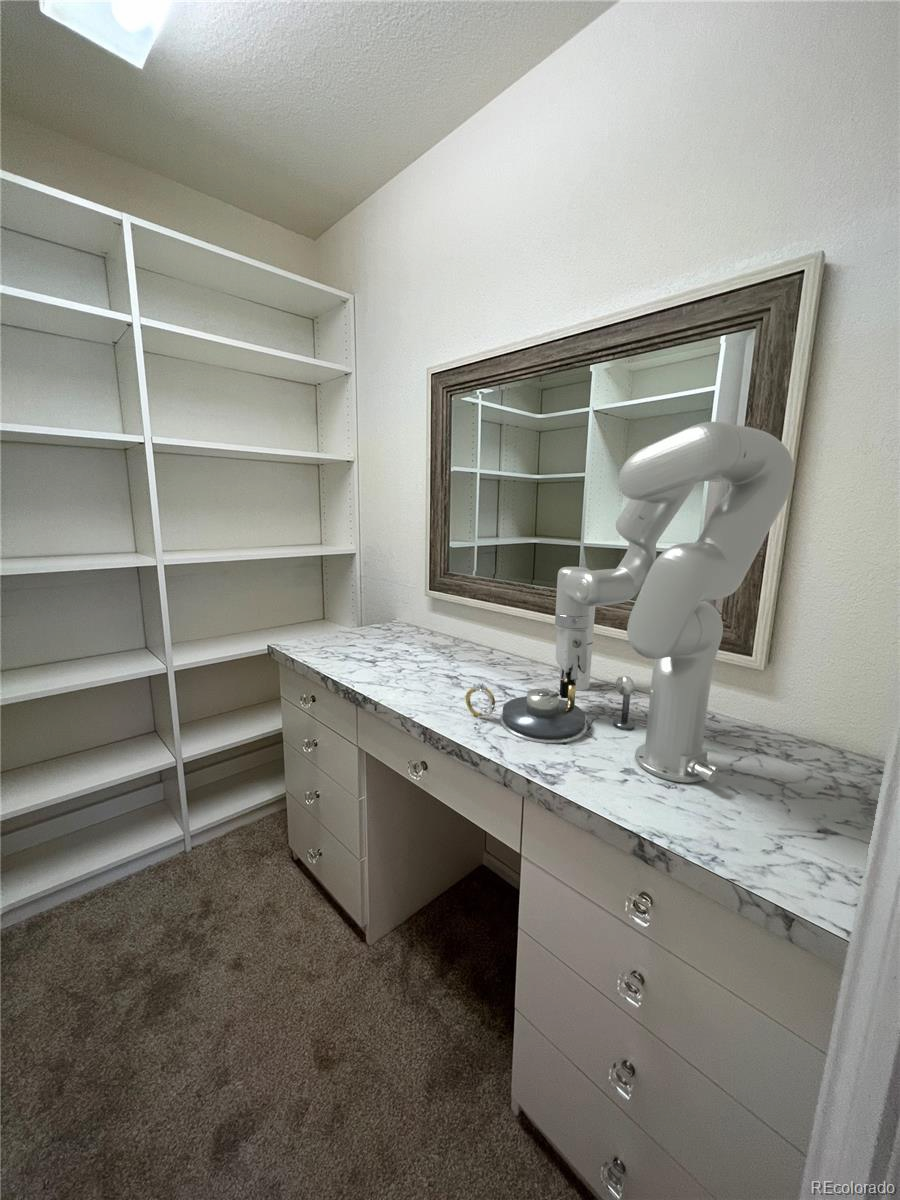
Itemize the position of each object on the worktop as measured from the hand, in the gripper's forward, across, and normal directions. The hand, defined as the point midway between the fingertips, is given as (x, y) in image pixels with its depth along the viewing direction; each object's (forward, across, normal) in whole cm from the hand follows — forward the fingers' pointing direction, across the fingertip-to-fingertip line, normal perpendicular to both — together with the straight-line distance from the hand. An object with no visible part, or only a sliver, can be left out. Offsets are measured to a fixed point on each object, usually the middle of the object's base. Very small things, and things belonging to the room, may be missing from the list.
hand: (567, 696), depth 111 cm
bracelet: (+4, -4, +21) cm, 22 cm away
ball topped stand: (+4, -8, -11) cm, 14 cm away
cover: (+1, -6, +7) cm, 10 cm away
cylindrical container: (+4, +17, -7) cm, 19 cm away
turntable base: (+4, -6, +7) cm, 10 cm away
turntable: (+4, -6, +7) cm, 10 cm away
